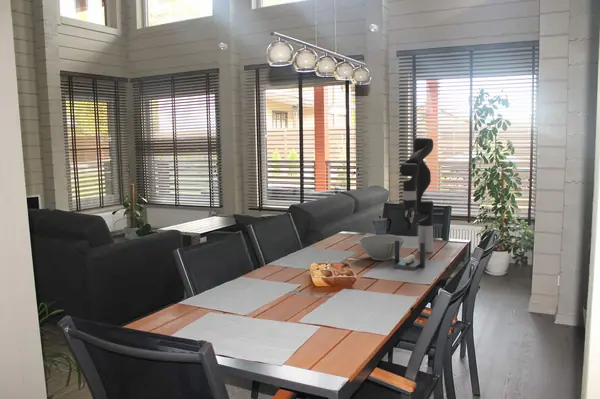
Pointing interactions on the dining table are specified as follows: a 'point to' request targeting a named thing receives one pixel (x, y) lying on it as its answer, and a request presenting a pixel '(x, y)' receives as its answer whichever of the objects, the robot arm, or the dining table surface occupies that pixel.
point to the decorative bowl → (380, 246)
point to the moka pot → (381, 225)
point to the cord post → (422, 255)
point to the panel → (408, 265)
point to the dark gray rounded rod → (396, 252)
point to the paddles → (409, 258)
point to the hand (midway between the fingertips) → (409, 229)
